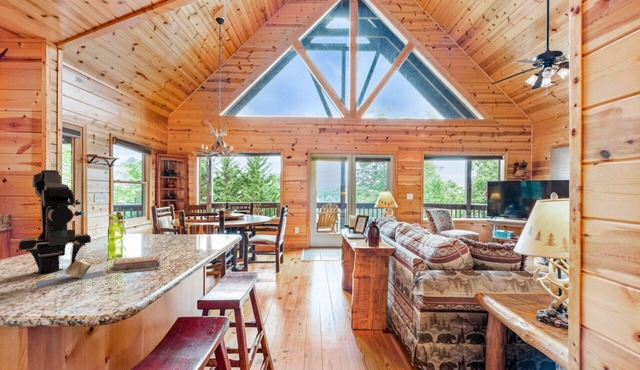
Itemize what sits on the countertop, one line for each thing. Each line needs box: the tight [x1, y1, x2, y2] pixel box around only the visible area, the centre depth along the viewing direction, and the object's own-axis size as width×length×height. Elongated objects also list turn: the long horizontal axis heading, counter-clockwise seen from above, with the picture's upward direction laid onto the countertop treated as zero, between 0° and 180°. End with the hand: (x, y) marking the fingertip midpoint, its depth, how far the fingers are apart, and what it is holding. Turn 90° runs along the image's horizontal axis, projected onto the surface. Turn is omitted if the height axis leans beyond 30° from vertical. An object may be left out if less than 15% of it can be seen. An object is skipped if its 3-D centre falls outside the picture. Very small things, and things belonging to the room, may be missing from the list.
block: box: [65, 258, 91, 278], centre depth 109 cm, size 5×5×5 cm
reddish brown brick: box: [106, 255, 162, 274], centre depth 123 cm, size 18×5×10 cm
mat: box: [35, 270, 107, 289], centre depth 108 cm, size 19×9×1 cm, turn 136°
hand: (56, 265), depth 104 cm, fingers open, 8 cm apart
